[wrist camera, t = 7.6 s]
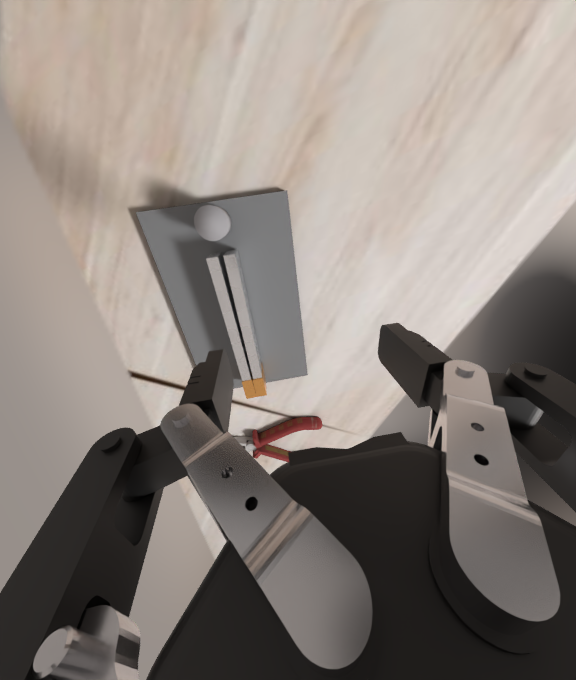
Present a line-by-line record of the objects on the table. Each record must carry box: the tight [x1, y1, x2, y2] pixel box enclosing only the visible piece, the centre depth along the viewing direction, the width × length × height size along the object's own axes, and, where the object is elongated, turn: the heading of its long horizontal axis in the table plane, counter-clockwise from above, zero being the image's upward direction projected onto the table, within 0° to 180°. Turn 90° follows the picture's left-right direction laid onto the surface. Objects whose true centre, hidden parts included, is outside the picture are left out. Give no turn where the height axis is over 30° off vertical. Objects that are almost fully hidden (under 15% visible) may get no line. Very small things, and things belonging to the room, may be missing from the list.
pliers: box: [234, 417, 322, 462], centre depth 44 cm, size 12×20×3 cm, turn 86°
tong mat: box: [136, 191, 308, 389], centre depth 29 cm, size 25×16×6 cm, turn 7°
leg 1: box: [206, 252, 257, 399], centre depth 30 cm, size 19×1×4 cm, turn 8°
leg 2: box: [223, 250, 267, 397], centre depth 30 cm, size 19×1×4 cm, turn 7°
